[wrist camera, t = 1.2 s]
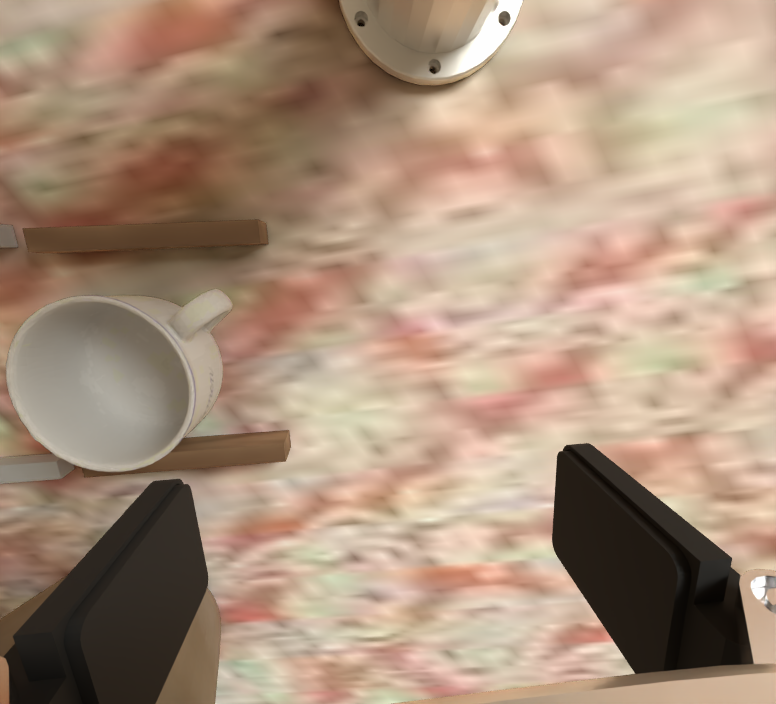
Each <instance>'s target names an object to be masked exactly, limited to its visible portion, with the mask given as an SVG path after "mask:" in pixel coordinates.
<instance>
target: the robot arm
mask: <svg viewBox="0 0 776 704" xmlns="http://www.w3.org/2000/svg"><path fill="white" fill-rule="evenodd" d="M339 4H340V8H341V11H342V14H343V16H344V19H345V21H346V24H347V26H348V29H349V31H350V32H351V34H352V36H353V37H354V39H355V40H356V42H357V44H358V45H359V47H360V48H361V49H362V50H363V51H364V52H365V54H366V55H367V56H368V57H369V58H370V59H371V60H372V61H373V62H374V63H375V64H376V65H378V66H379V67H380V68H382V69H383V70H384V71H386V72H387V73H389V74H391V75H393V76H395V77H397V78H399V79H401V80H403V81H407V82H410V83H414V84H418V85H442V84H448V83H453V82H455V81H458V80H460V79H463V78H465V77H468V76H470V75H471V74H472V73H474V72H475V71H477V70H478V69H480V68H481V67H483V66H484V65H485V64H486V63H487V62H488V61H489V60H490V59H491V58H492V57H493V56H494V55H495V54H496V53H497V51H498V50H499V48H500V47H501V46H502V44H503V43H504V42H505V40H506V39H507V37H508V35H509V34H510V32H511V30H512V29H513V27H514V25H515V23H516V20H517V18H518V15H519V12H520V9H521V7H522V4H523V0H339ZM360 23H362V24H364V25H365V26H363V27H360V26H358V24H360ZM500 23H501V24H502V25H503V26H502V25H500ZM430 69H434V71H435V73H436V74H433V73H431V72H430V71H429V70H430ZM552 543H553V547H554V551H555V553H556V555H557V557H558V558H559V560H560V561H561V563H562V564H563V566H564V567H565V569H566V570H567V572H568V573H569V575H570V576H571V578H572V579H573V581H574V582H575V584H576V585H577V587H578V588H579V590H580V591H581V593H582V594H583V596H584V597H585V599H586V600H587V602H588V603H589V605H590V606H591V608H592V609H593V611H594V612H595V614H596V615H597V617H598V618H599V620H600V621H601V623H602V624H603V626H604V627H605V629H606V630H607V632H608V633H609V635H610V636H611V638H612V639H613V641H614V642H615V644H616V645H617V647H618V648H619V650H620V651H621V653H622V654H623V656H624V657H625V659H626V660H627V662H628V663H629V665H630V666H631V668H632V669H633V671H634V672H635V674H631V675H623V676H614V677H606V678H598V679H589V680H581V681H572V682H564V683H556V684H547V685H539V686H531V687H522V688H514V689H505V690H497V691H489V692H481V693H473V694H465V695H457V696H449V697H441V698H433V699H425V700H417V701H409V702H401V703H393V704H776V571H773V570H765V569H754V570H749V571H746V572H745V573H743V574H742V575H740V574H738V573H737V572H736V571H735V570H734V569H732V568H731V561H732V558H731V557H730V556H729V555H728V554H726V553H725V552H724V551H723V550H721V549H720V548H719V547H718V546H717V545H715V544H714V543H713V542H712V541H710V540H709V539H708V538H707V537H705V536H704V535H703V534H702V533H700V532H699V531H698V530H697V529H695V528H694V527H693V526H692V525H690V524H689V523H688V522H687V521H685V520H684V519H683V518H682V517H681V516H679V515H678V514H677V513H676V512H674V511H673V510H672V509H671V508H669V507H668V506H667V505H666V504H664V503H663V502H662V501H661V500H659V499H658V498H657V497H656V496H654V495H653V494H652V493H651V492H650V491H648V490H647V489H646V488H645V487H643V486H642V485H641V484H640V483H638V482H637V481H636V480H635V479H633V478H632V477H631V476H630V475H628V474H627V473H626V472H625V471H623V470H622V469H621V468H620V467H619V466H617V465H616V464H615V463H614V462H612V461H611V460H610V459H609V458H607V457H606V456H605V455H604V454H602V453H601V452H600V451H599V450H597V449H596V448H595V447H594V446H592V445H591V444H589V443H586V444H574V445H566V446H565V447H564V449H563V451H560V452H559V453H558V456H557V468H556V485H555V501H554V518H553V534H552ZM207 586H208V572H207V567H206V562H205V557H204V552H203V547H202V542H201V537H200V532H199V527H198V522H197V517H196V512H195V507H194V502H193V497H192V492H191V488H190V486H189V485H188V484H183V482H182V480H180V479H171V480H160V481H153V482H152V483H151V484H150V485H149V486H148V487H147V488H146V489H145V490H144V492H143V493H142V494H141V495H140V496H139V497H138V498H137V499H136V500H135V501H134V503H133V504H132V505H131V506H130V507H129V508H128V509H127V510H126V511H125V513H124V514H123V515H122V516H121V517H120V518H119V519H118V520H117V521H116V522H115V524H114V525H113V526H112V527H111V528H110V529H109V530H108V531H107V532H106V534H105V535H104V536H103V537H102V538H101V539H100V540H99V541H98V542H97V543H96V545H95V546H94V547H93V548H92V549H91V550H90V551H89V552H88V553H87V555H86V556H85V557H84V558H83V559H82V560H81V561H80V562H79V563H78V564H77V566H76V567H75V568H74V569H73V570H72V571H71V572H70V573H69V574H68V576H67V577H66V578H65V579H64V580H63V581H62V582H61V583H60V584H59V585H58V587H57V588H56V589H55V590H54V591H53V592H52V593H51V594H50V595H49V597H48V598H47V599H46V600H45V601H44V602H43V603H42V604H41V605H40V606H39V608H38V609H37V610H36V611H35V612H34V613H33V614H32V615H31V616H30V618H29V619H28V620H27V621H26V622H25V623H24V624H23V625H22V626H21V627H20V629H19V630H18V631H17V632H16V633H15V634H14V635H13V639H14V642H15V644H14V645H13V646H12V647H11V648H10V649H9V651H8V652H7V653H6V654H5V655H4V656H3V657H1V656H0V704H156V702H157V700H158V697H159V695H160V693H161V691H162V689H163V686H164V684H165V682H166V680H167V677H168V675H169V673H170V671H171V668H172V666H173V664H174V662H175V660H176V657H177V655H178V653H179V651H180V648H181V646H182V644H183V642H184V640H185V637H186V635H187V633H188V631H189V628H190V626H191V624H192V622H193V620H194V617H195V615H196V613H197V611H198V608H199V606H200V604H201V602H202V599H203V597H204V595H205V593H206V590H207Z"/></svg>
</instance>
